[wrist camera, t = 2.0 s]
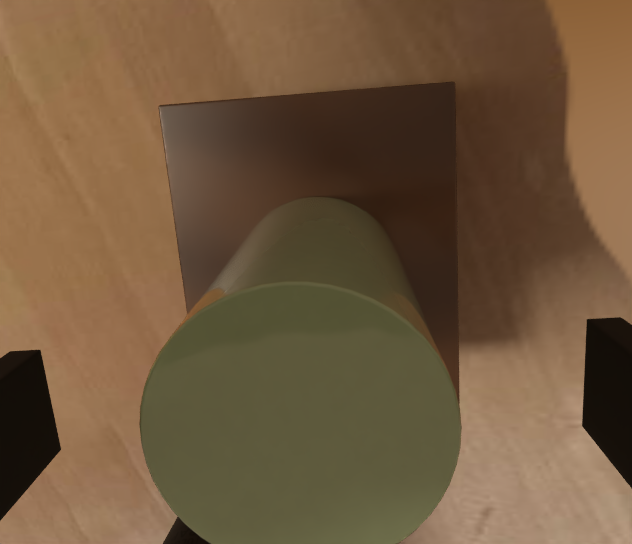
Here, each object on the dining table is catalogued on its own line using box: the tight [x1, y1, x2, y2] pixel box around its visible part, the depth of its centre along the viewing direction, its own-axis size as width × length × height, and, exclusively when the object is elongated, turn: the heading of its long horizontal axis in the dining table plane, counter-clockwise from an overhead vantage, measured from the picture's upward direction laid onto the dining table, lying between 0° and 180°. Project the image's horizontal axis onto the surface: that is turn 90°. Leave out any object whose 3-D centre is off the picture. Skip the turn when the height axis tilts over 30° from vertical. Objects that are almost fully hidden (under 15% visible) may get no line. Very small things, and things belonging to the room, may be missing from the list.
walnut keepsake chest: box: [159, 82, 459, 403], centre depth 27 cm, size 14×11×9 cm
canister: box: [140, 197, 462, 544], centre depth 17 cm, size 6×6×12 cm
